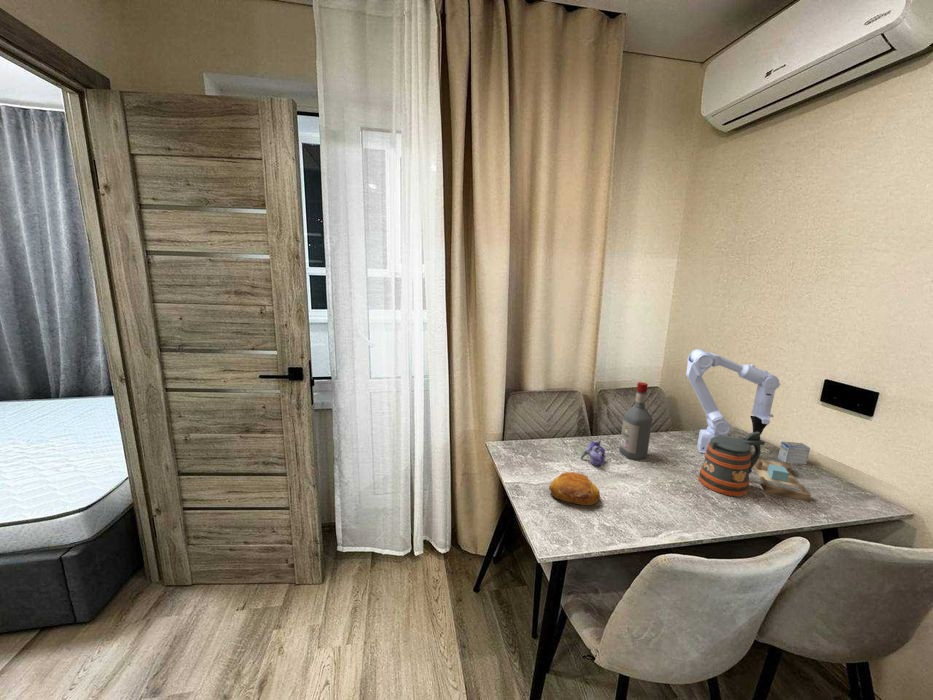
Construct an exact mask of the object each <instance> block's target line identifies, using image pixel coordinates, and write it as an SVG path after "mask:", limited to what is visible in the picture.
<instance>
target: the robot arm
mask: <svg viewBox="0 0 933 700" xmlns="http://www.w3.org/2000/svg"><path fill="white" fill-rule="evenodd" d="M686 366H687V367H686V372H685V376H686V377H687V379H688V382H689V383H690V385H691V387H692V389H693V391H694V393H695V395H696V397H697V399H698V401H699V402H700V403H699V404H701V407H702V409H703V411H704V414H705V417H706V419H705V421H706V424H707V425H708V426H707V427H706V429H700V430H699V433H698V434H699V435H698V438H697V444H696V447H697V449H698V452H699V453H701V454H705V453H706V450H707V447H708V443H709V442H710V441H711V438H713V437H716V436H727V437H728V435H729V433H730V432H731V431H732V426H731V424H730V423H729V421H727V420H726V419H725V418H724V416H723V414H722V412H721V411H720V410H719V407H718V406H717V404H716V402H715V400H714V398H713V396H712V394H711V392H710V390H709V389H708V387H707V384H706V382H705V381H704V378H703V375H704V373H705V372H706V371H708V370H709V369H710V368H711V367H713V368H714V367H718V366H720V367H724V368H725V369H728V370H731V371H733V372H736V373H737V374H738V377H739V378H741V379H744V380H745V381H749V382H751V383H753V384H756V392H755V395H754V401H753V405H752V410H751V415H750V416H749V417H750V420H751V424H752V433H753V432H760V436H761V435H762V433H763V431H764V429H765V428H766V427H767V426H768V425H769V424H770V423H771V422H770V418H774V414H772V407H773V403H774V398H775V392H776V390H777V389H778V388H779V387H780V385H781V383H780V379H779V378H778V377H777V376H776V375H774V374H772V373H770V372H768V371H767V370H765V369H763V370H762V369H760V368H758V367H756V365H754V364H753V363H751V364H740V363H739V364H738V363H737V362H735V361H733V360H730V359H728V358H726V357H724V356H721V355H719V354H716V353H713V352H710V351H705V350H704V349H701V348H696V349H693V350H692V351H691V352H690V354H689V355H688V357H687V365H686Z"/></svg>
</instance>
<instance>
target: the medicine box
mask: <svg viewBox="0 0 933 700" xmlns="http://www.w3.org/2000/svg"><path fill="white" fill-rule="evenodd" d="M810 451H811V447H810V446H808V445H806V444H804V443H802V442H795V441H794V442H793V441H792V442H790V441H781V443H780V447H779V452H778V456H777V459H779V460H780V461H781V462H782V463H783V462H787V463H788V464H795V465H808V464H807V462H808V459H809V456H810Z"/></svg>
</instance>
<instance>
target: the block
mask: <svg viewBox="0 0 933 700" xmlns="http://www.w3.org/2000/svg"><path fill="white" fill-rule="evenodd" d="M767 473H768V475H769V476H770V478H771V479H773V480H778V481H783V482H787V480H788V476H789V473H788V471H787V470H786V469H785V467H782V466H777V465H771V464H769V467H768V471H767Z"/></svg>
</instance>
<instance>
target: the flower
mask: <svg viewBox="0 0 933 700" xmlns="http://www.w3.org/2000/svg"><path fill="white" fill-rule="evenodd" d="M601 442H602V441H601V440H598V441H592V442H590V443H589V445H588V446H587V447H586V449H585V450H583V452H582V454H581V455H580V460H582V461H583V459H584V457H585V456H587V455H588V456H589V461H590V463H591V464H592V465H594V466H595V467H600V466H604V465H605V464H606V463H605V460H606V455H605V453H606V449H605V447H604V446H602V445H601Z"/></svg>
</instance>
